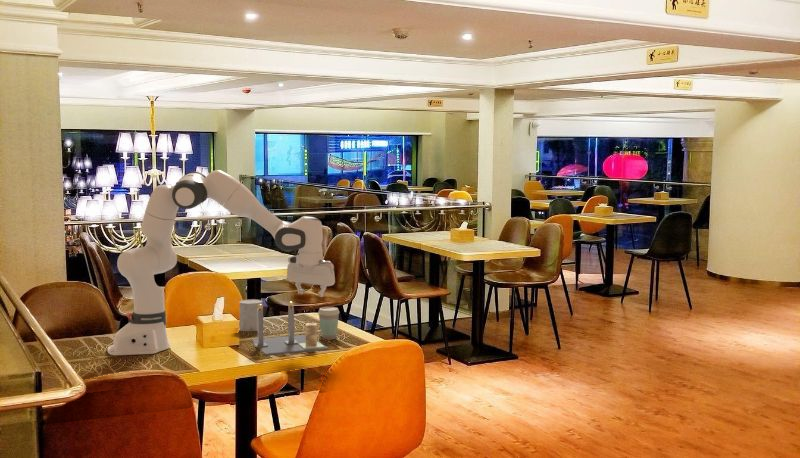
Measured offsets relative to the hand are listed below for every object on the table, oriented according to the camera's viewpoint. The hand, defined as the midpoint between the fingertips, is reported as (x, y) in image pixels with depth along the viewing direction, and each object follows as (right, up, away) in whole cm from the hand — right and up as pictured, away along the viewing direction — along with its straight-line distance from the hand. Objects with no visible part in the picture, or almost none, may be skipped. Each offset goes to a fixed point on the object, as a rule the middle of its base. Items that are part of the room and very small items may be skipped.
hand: (310, 295), depth 314 cm
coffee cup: (+5, -19, +18) cm, 27 cm away
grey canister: (-28, -17, +31) cm, 46 cm away
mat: (-9, -20, +6) cm, 23 cm away
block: (0, -19, +2) cm, 19 cm away
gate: (-14, -20, +4) cm, 24 cm away
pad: (0, -20, +2) cm, 20 cm away
